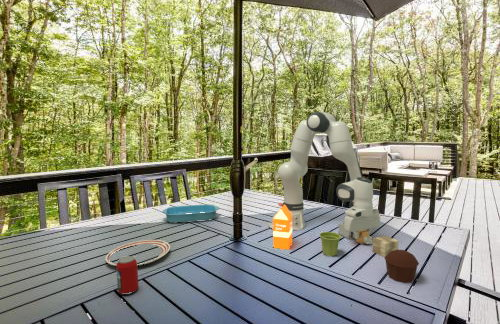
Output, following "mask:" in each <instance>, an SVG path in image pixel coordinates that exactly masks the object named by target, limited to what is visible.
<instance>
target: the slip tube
mask: <svg viewBox="0 0 500 324" xmlns="http://www.w3.org/2000/svg"><path fill="white" fill-rule="evenodd" d="M358 234H359V235H360V238H359V239H357V238H356V237H355V233H354V231H353V232H351V237H353V238H355V239H354V240H355V242H356V243H359V244H361V245H364V244H367V245H368V244H369V245H370V244H373V237H372V236H370V233H369V231H367V229H364V230H359V232H358Z"/></svg>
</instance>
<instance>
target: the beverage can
mask: <svg viewBox="0 0 500 324" xmlns="http://www.w3.org/2000/svg"><path fill="white" fill-rule="evenodd" d="M115 269H116V283H117V292H118V291H119V292H120V293H129V292H133V291H135V290H136V289H137V288H138V289H139V272H138V271H139V270H138V269H139V268H138V266H137V261H136V259H135V257H134V256H124V257H122V258H120V259H119V260H118V263H117V265H116V268H115ZM138 289H137V290H138ZM137 290H136V291H137ZM136 291H135V292H136ZM119 292H118V293H119ZM120 293H119V294H120Z"/></svg>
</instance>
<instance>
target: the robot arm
mask: <svg viewBox="0 0 500 324" xmlns="http://www.w3.org/2000/svg"><path fill="white" fill-rule="evenodd" d="M318 133H320V134H321V133H322V134H326V136H327V137H328V141H329V148H330V149H329V150H330V153H331V155H332V157H334V159H337V160H339V161H340V162H343V163H344V164H345V165H346V167H347V171H348V174H349V180H350V181H347V182H343V183H340V184H338V185H337V187H336V189H335V190H336V192H335V193H336V196H337V198H338V199H339V200H340V201H341V202H352V203H353V205H352V206H351V207H349V208H347V209H346V210H345V212H344V214H345V217H344V221H343V223H344V228H345V230H346V231H349V232H353V231H354V233H355V237H356V238H357V239H359V238H360V235H359V234H358V232H359V230H364V229H365V230H367V231H369V234H370V233H371V232H372V229H373V228H379V227H380V226H381V216H380V210H379V209H377V208H373V207H374V204H373V198H374V186H373V182H372V180H370V179H369V178H366V177H363V174H362V170H361V166H360V163H359V159H358V156H357V154H356V152H355V149H354V147H353V143H352V136H351V132H350V130H349V126H348V125H347V123H346V122H344V121H339V120H338V119H337V117H336V116H335V115H334V114H332V113H328V112H325V111H321V112H320V111H315V112H312V113H311V114H309V115H308V116H307V118H306V119H304V120H301V121H300V122H299V124H298V126H297V128H296V130H295V133H294V136H293V138H292V142H291V144H290V149H289V151H290V159H289V161H286V162H284V163H282V164H281V165H280V166H279V167H278V170H277V175H278V177H279V178H280V180H281V183H282V187H283V198H284V199H283V202H278V206H279V207H282V206H283V205H284V204H285V205H286V207H287V208H288V210H289V211H290V213H291V214H292V231H300V230H301V231H303V230H304V229H305V227H306V222H305V218H304V208H305V207H304V198H303V197H304V196H303V195H304V193H303V190H304V189H303V188H302V186H301V182H300V179H301V178H302V177H304V176H306V173H308V169H309V168H308V167H309V166H308V162H309V161H308V160H309V154H310V152H311V151H310V150H311V148H312V145H313V141H314V139H315V136H316V135H317V134H318ZM279 211H280V209H279V210H278V211H277V212H275V213H274V214H273V215H272V217H271V219H272V220H271V222H268V225H267V227H270V228H269V229H271V228H272V229H271V230H273V219H274V217H275V216H276V215H277V213H278V212H279Z"/></svg>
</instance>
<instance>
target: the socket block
mask: <svg viewBox="0 0 500 324" xmlns="http://www.w3.org/2000/svg"><path fill="white" fill-rule="evenodd" d="M399 245H400V244H399V240H398V239H395V238H392V237H391V236H388V235H384V236H377V237H372V253H375V254H376V255H378V256H381V257H382V258H384V257H385V256H386V255H387V254H388V253H389V252H391V251H394V250H399Z"/></svg>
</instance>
